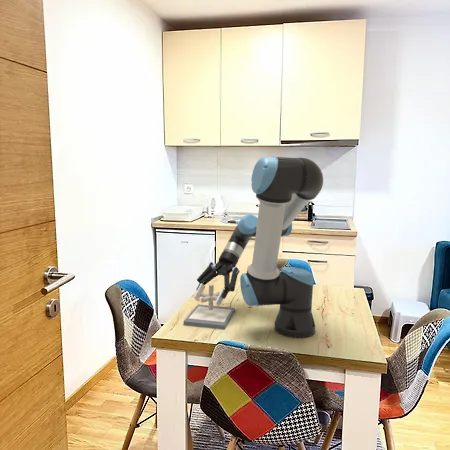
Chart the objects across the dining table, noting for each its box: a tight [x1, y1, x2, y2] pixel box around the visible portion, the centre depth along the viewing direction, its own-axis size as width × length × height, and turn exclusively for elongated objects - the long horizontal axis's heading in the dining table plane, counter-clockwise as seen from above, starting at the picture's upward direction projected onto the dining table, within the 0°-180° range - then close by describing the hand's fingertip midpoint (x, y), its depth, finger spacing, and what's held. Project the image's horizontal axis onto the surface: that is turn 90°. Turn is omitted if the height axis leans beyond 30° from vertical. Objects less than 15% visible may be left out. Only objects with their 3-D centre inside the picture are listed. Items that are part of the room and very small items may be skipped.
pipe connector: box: [200, 284, 220, 310], centre depth 168 cm, size 10×10×10 cm
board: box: [183, 304, 236, 330], centre depth 169 cm, size 20×16×2 cm
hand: (206, 301), depth 166 cm, fingers closed on pipe connector, 10 cm apart
